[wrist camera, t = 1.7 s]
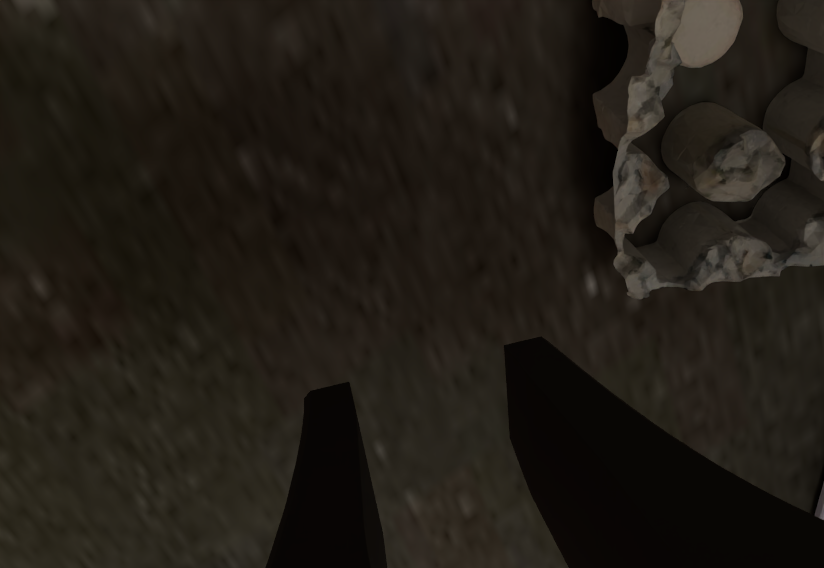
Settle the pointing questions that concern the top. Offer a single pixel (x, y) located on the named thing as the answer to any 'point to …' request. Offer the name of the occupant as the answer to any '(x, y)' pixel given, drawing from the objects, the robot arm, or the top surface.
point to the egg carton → (711, 150)
